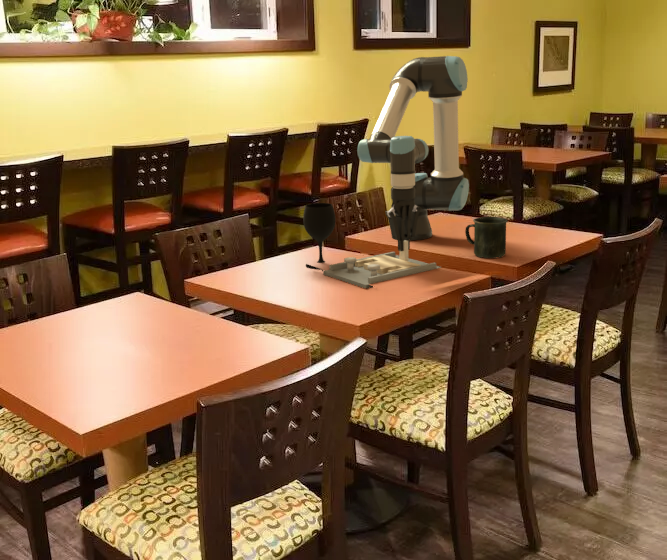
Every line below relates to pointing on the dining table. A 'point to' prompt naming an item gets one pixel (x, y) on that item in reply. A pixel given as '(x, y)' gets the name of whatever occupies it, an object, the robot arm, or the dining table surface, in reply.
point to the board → (361, 274)
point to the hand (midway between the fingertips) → (403, 260)
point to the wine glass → (319, 224)
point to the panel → (386, 264)
